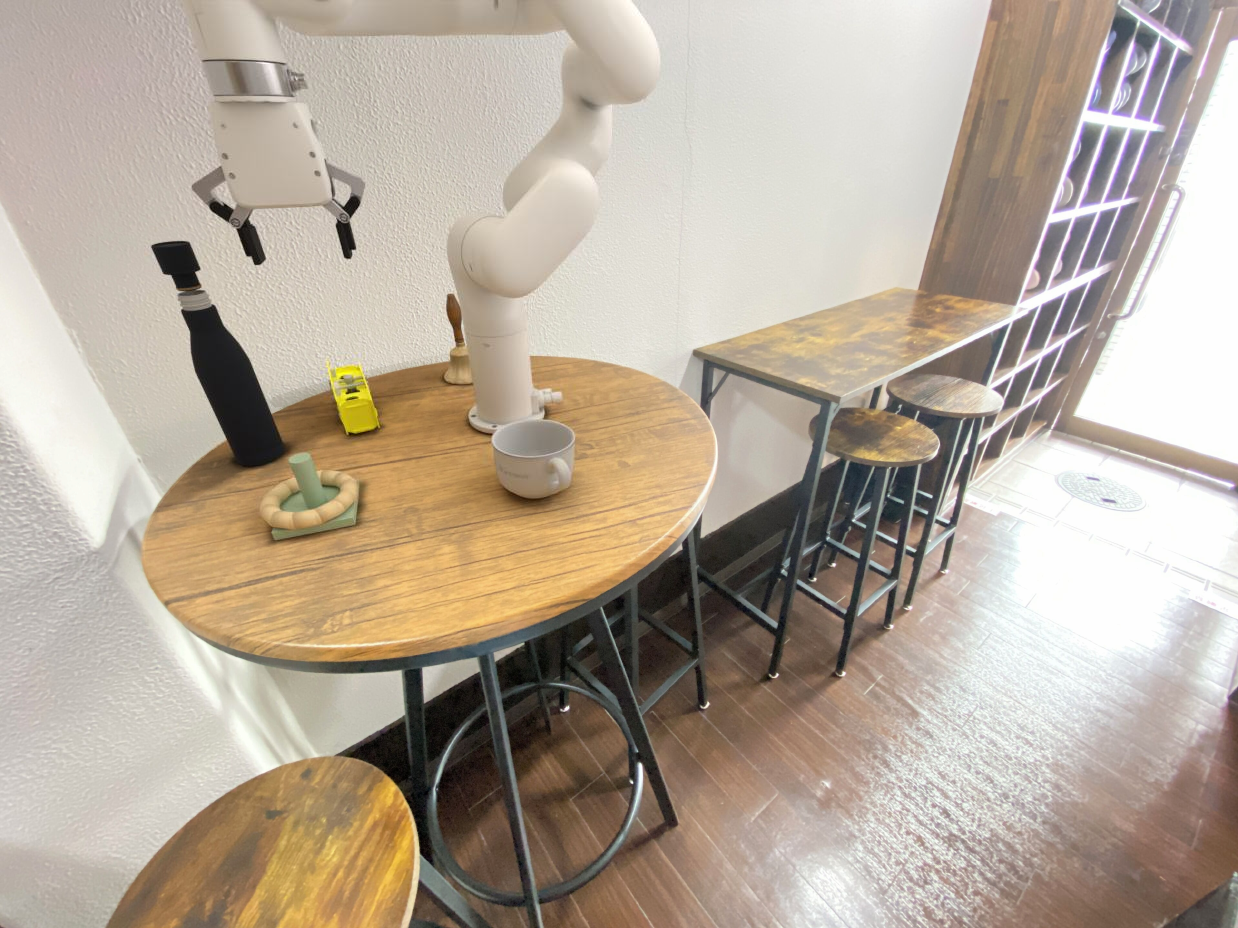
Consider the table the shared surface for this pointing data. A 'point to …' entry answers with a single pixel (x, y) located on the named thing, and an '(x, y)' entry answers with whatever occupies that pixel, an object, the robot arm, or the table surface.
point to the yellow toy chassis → (352, 398)
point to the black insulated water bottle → (221, 364)
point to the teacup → (534, 457)
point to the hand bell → (457, 347)
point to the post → (312, 499)
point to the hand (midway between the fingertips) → (305, 259)
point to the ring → (314, 516)
